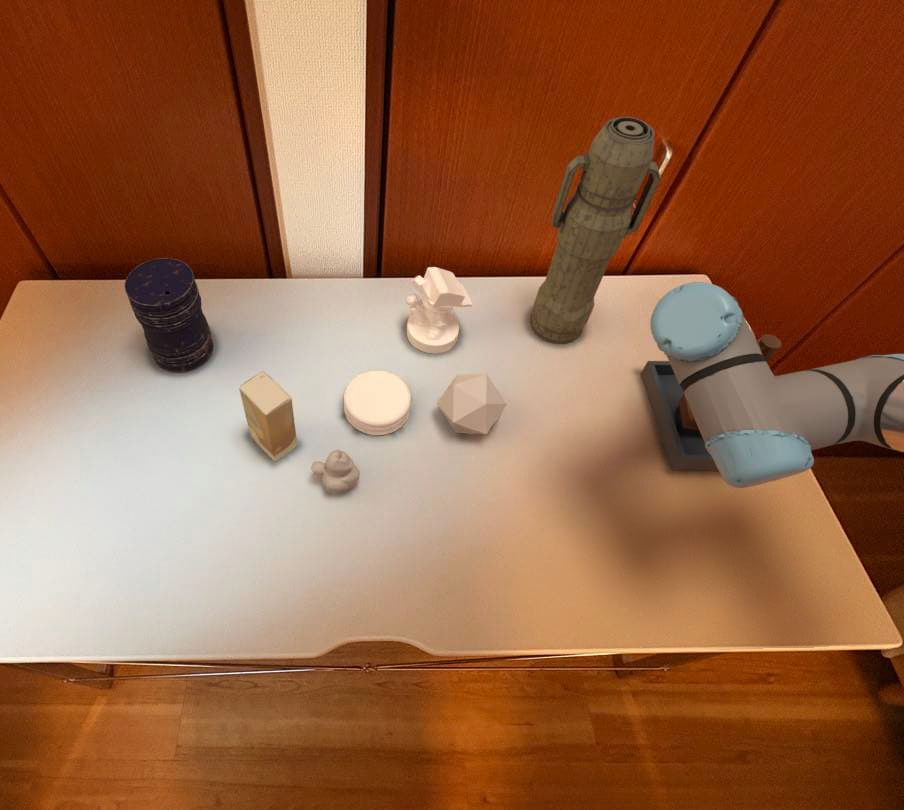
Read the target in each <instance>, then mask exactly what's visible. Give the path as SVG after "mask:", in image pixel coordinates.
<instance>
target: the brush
mask: <svg viewBox="0 0 904 810" xmlns="http://www.w3.org/2000/svg"><path fill="white" fill-rule="evenodd" d="M757 341H758V343H759V345H760V349H761V353H762V355H763V356H764V358H765V360H766V362H767V363H768V362H769V361H770V360H771V358H772V357H773V356H774V355H775V354H776V353H777V352H778V351H779V349H780V348H781V347H782V342H781V340H780V339H779V338H778V337H776V336H775V335H773V334H769V333H768V334H767V333H766V334H762V335H761V336H760V337H759V339H757ZM676 413H677V419H678V425H679V430H680V433H684V434H690V435H696V436H702V435H701V433H700V430H699V428H698V426H697V423H696V421H695V418H694V416H693V414H692V411H691V409H690V406H689V404H688V402H687V399H686V397H685V394H683V396H682V397H681V398H680V400H679V406H678V407H677V408H676Z"/></svg>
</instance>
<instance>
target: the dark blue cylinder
mask: <svg viewBox="0 0 904 810" xmlns="http://www.w3.org/2000/svg"><path fill="white" fill-rule="evenodd" d="M193 272H194V271H193V270H192V268H191V267H190V266H189V265H188V264H187V263H185V262H183V261H181V260H179V259H176V258H171V257H162V258H154V259H151V260H147V261H145V262H143V263H140V264H139V265H137V266H135V268H133V269H132V270H131V271H130V272H129V273H128V275H127V276H126V278H125V281H124V291H125V293H126V296H127V298H128V300H129V305H130V307H131V309H132V312H133V313H134V316H135V318H136V320H137V321H138V322H139V324H140V325H141V327H142V329H143V335H144V339H145V341H146V345H147V348H148V350H149V351H150V353H151V355H152V357H153V359H154V363H156V365H157V366H158V367H159V368H160V369H162V370H164V371H165V372H169V373H175V374H181V373H188V372H192V371H194V370H197V369H199V368H201V367H202V366H204V365H205V364H206V363H208V361H209V360H210V358H211V357H212V355H213V352H214V341H213V338H212V332H211V331H212V330H211V328H210V325H209V322H208V320H207V317H206V316H205V314H204V312H203V309H202V297H201V295H200V294H201V293H200V291H199V287H198V284H197V282H196V279H195V275H194V273H193Z"/></svg>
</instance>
